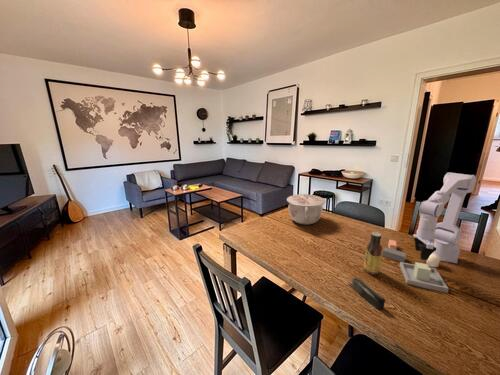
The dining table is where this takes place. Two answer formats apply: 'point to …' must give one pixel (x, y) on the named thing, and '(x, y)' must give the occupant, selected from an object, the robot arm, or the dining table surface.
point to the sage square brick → (422, 271)
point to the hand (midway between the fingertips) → (421, 254)
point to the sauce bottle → (373, 254)
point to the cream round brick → (433, 260)
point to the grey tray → (433, 283)
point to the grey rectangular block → (394, 254)
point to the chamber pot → (305, 208)
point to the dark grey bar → (368, 293)
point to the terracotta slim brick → (392, 244)
